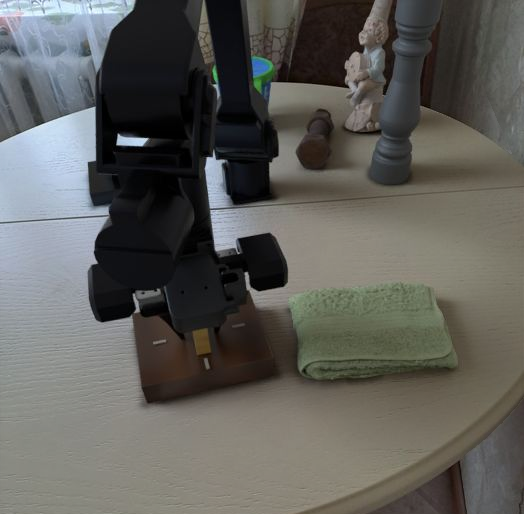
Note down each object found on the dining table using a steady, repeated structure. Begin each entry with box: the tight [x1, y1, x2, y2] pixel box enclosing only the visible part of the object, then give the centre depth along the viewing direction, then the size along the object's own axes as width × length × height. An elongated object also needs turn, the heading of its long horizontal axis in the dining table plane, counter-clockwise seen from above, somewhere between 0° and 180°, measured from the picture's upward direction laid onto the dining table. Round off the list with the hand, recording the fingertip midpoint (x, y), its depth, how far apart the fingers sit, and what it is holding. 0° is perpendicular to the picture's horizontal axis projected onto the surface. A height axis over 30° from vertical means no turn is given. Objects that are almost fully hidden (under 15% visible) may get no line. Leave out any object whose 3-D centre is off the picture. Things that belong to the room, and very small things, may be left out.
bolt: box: [295, 108, 335, 170], centre depth 86 cm, size 6×5×15 cm
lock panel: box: [131, 289, 275, 404], centre depth 56 cm, size 14×11×3 cm
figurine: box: [344, 0, 394, 133], centre depth 85 cm, size 9×8×20 cm
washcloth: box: [288, 282, 459, 381], centre depth 57 cm, size 13×18×3 cm
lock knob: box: [192, 328, 211, 355], centre depth 53 cm, size 6×2×4 cm, turn 15°
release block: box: [87, 160, 121, 207], centre depth 80 cm, size 12×10×4 cm
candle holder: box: [369, 0, 444, 186], centre depth 72 cm, size 6×6×25 cm
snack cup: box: [212, 55, 275, 106], centre depth 90 cm, size 16×10×10 cm
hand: (199, 333), depth 55 cm, fingers open, 3 cm apart
